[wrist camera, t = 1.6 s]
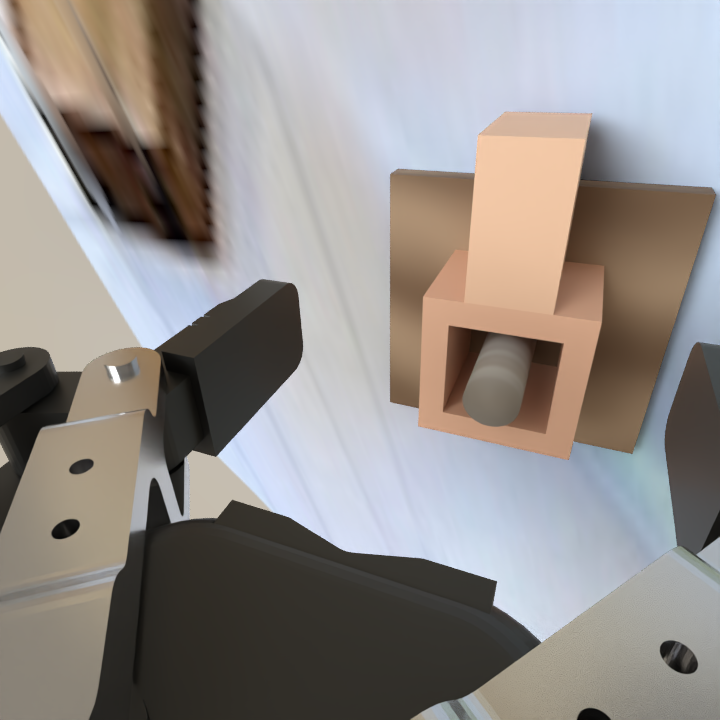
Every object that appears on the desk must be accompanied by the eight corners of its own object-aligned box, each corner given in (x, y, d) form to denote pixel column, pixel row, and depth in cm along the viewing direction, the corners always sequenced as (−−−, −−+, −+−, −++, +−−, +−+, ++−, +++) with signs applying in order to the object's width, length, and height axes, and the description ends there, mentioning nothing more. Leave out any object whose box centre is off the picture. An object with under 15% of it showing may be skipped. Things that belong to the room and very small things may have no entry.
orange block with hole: (576, 389, 24) (568, 460, 20) (447, 365, 26) (418, 426, 22) (638, 114, 18) (645, 140, 14) (465, 110, 20) (429, 133, 16)
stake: (397, 169, 23) (324, 219, 17) (711, 187, 19) (753, 261, 13) (396, 391, 30) (342, 483, 24) (631, 440, 26) (636, 565, 20)
